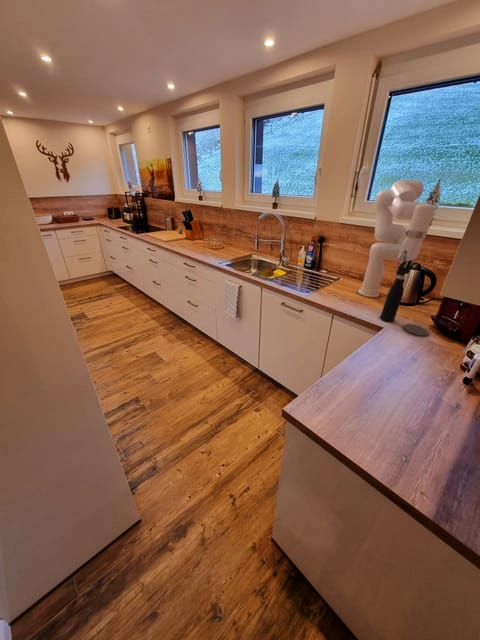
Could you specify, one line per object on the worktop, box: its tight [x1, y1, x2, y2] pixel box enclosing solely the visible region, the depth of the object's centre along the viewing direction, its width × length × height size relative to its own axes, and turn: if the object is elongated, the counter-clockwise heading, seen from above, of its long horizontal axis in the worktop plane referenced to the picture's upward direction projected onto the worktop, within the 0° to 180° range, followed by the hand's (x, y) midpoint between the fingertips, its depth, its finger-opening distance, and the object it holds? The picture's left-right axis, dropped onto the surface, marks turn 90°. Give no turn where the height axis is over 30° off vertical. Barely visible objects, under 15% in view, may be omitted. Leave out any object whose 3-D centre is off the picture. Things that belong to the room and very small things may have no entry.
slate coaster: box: [403, 323, 429, 337], centre depth 127 cm, size 10×10×1 cm
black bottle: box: [380, 262, 411, 323], centre depth 129 cm, size 6×6×30 cm
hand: (402, 273), depth 125 cm, fingers open, 4 cm apart
